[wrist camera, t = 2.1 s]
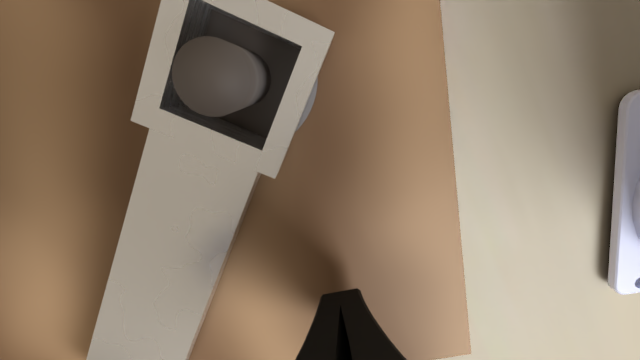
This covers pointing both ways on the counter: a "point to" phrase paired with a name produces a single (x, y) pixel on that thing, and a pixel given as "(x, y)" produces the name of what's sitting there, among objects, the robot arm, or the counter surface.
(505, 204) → the counter surface
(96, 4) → the board
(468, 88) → the counter surface
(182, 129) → the link
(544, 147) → the counter surface
